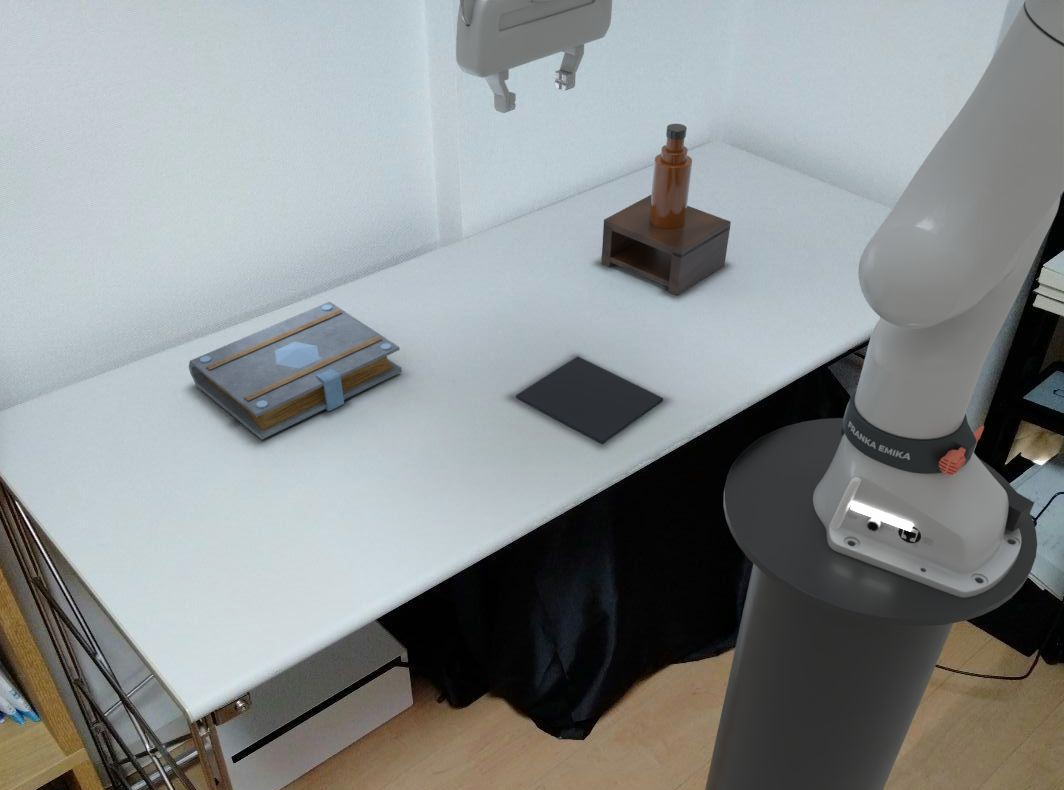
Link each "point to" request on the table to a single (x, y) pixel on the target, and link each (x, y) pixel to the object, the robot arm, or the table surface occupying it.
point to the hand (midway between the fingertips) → (535, 99)
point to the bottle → (671, 181)
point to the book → (295, 368)
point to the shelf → (665, 246)
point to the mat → (589, 399)
